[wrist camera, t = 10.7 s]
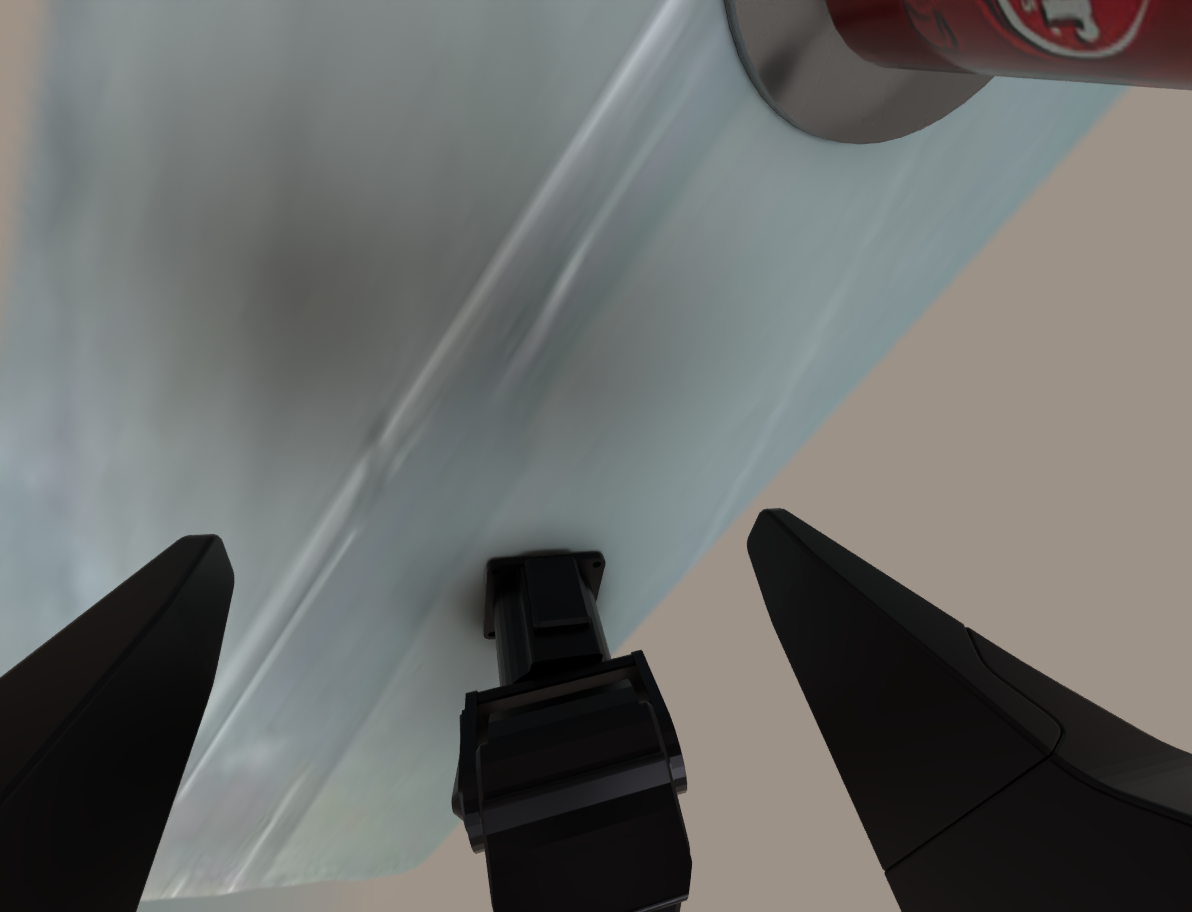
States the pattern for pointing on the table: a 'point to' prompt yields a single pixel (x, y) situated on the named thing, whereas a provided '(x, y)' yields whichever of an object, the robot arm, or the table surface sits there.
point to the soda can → (1026, 38)
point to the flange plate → (836, 76)
